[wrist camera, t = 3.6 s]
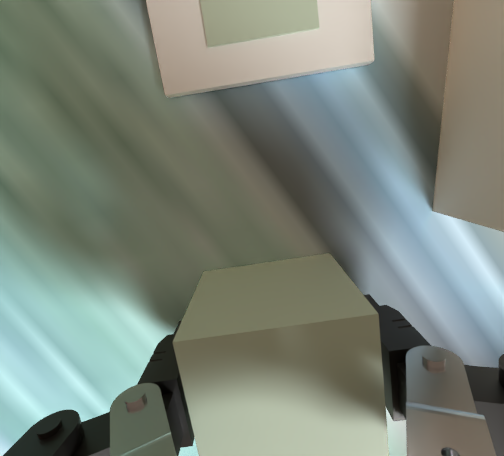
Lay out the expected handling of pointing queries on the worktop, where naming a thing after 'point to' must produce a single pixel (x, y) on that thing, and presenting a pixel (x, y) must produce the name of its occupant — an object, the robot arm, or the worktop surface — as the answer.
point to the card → (256, 40)
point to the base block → (473, 117)
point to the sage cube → (283, 362)
